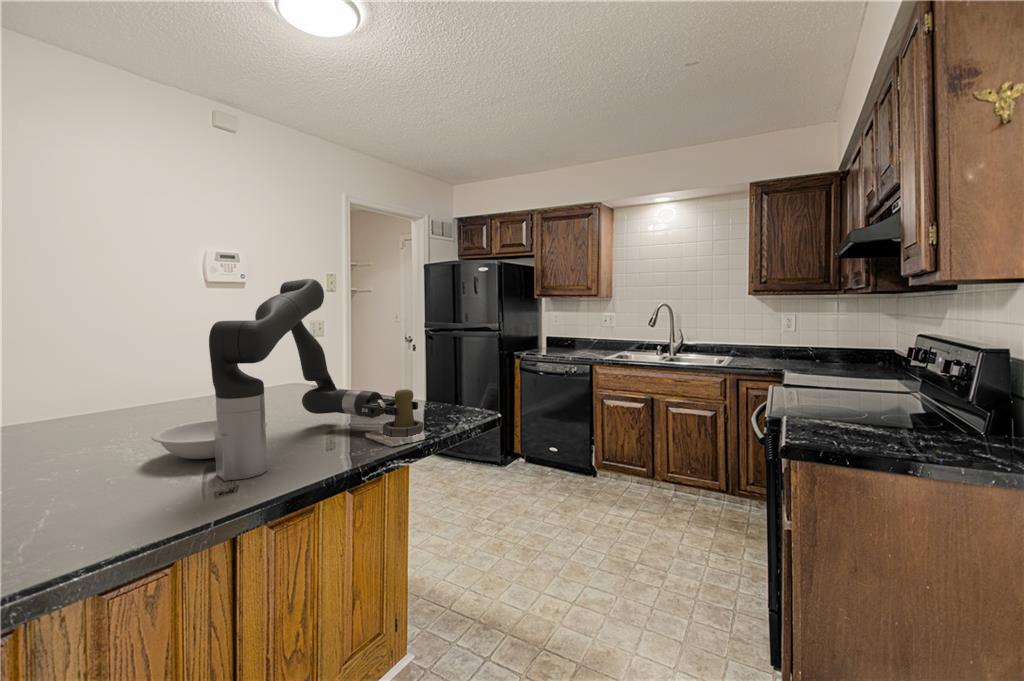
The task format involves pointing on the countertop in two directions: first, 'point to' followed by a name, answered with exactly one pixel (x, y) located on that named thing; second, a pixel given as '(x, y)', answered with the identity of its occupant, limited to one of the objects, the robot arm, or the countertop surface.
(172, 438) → the soup bowl
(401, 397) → the cork
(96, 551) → the countertop surface
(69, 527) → the countertop surface
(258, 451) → the robot arm
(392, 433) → the socket board
